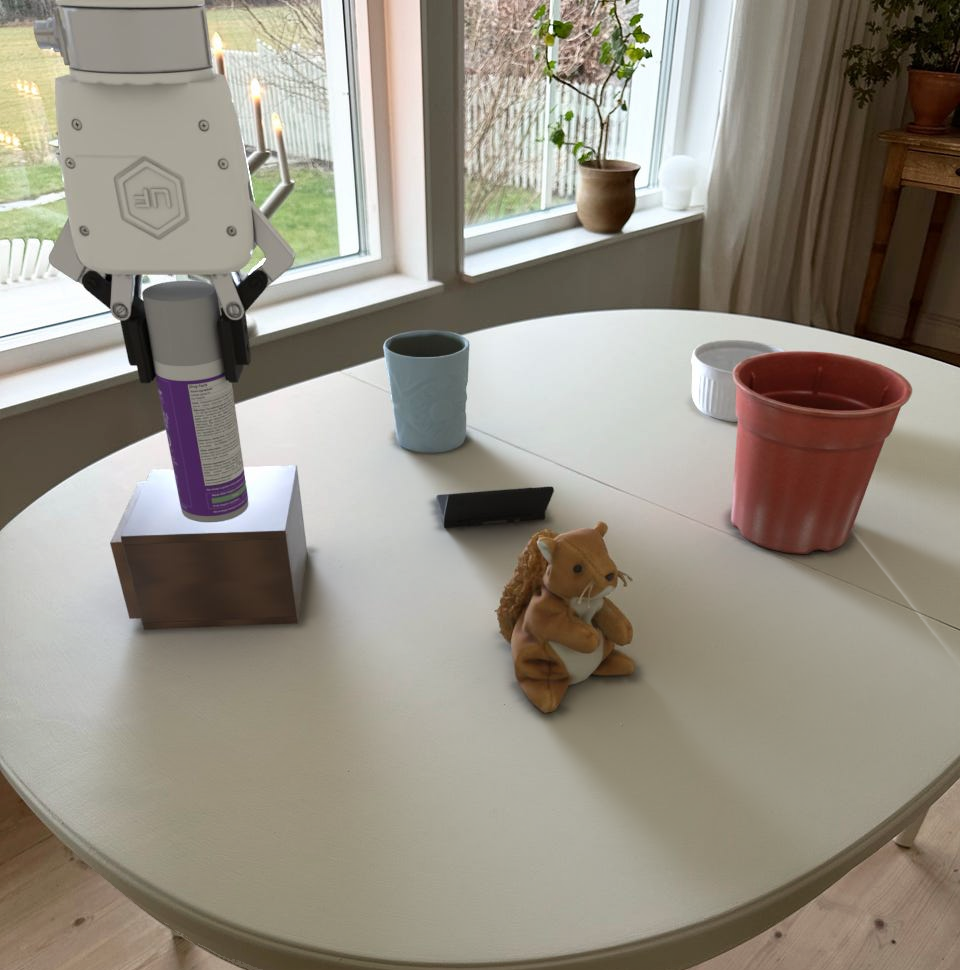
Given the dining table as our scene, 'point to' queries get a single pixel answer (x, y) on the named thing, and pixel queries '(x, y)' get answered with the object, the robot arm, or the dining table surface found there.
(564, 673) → the stuffed squirrel
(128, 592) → the drawer
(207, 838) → the dining table surface
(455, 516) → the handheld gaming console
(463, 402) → the light blue cup
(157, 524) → the cabinet
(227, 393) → the container
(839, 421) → the flower pot
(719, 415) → the ramekin
